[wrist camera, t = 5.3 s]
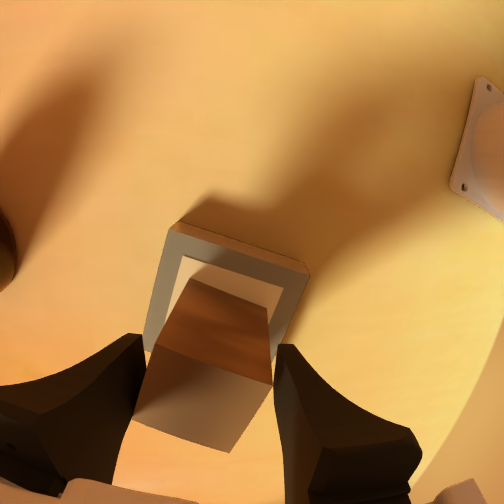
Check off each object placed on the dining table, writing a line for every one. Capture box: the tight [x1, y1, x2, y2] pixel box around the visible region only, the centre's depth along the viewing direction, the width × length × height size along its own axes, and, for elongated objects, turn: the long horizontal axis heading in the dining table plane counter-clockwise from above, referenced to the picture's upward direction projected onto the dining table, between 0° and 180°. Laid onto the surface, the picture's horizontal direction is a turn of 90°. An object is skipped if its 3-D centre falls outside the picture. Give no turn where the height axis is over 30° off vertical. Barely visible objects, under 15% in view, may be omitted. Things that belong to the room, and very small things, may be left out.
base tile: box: [143, 221, 310, 363], centre depth 17 cm, size 7×7×2 cm
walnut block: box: [132, 278, 273, 453], centre depth 13 cm, size 4×4×6 cm
